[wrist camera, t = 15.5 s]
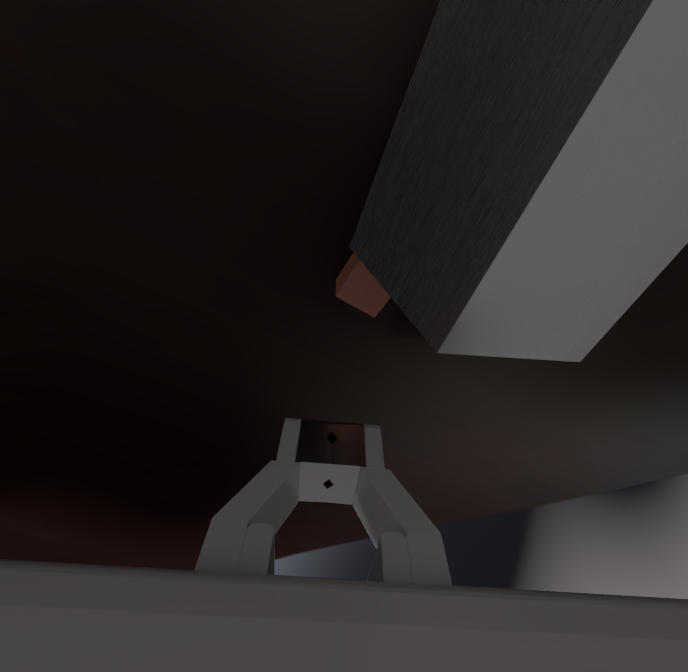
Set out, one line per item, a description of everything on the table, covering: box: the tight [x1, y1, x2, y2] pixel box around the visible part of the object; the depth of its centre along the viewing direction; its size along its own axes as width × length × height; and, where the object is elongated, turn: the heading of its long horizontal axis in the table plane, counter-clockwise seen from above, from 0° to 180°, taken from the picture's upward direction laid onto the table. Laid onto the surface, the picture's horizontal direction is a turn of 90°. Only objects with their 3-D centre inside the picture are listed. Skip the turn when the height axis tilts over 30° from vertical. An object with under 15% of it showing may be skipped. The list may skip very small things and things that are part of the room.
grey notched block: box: [349, 0, 688, 362], centre depth 8 cm, size 8×5×5 cm, turn 161°
